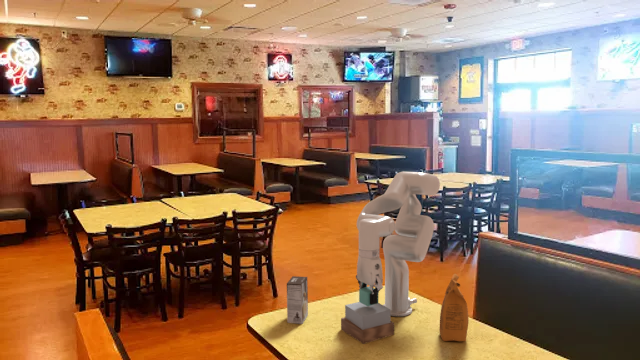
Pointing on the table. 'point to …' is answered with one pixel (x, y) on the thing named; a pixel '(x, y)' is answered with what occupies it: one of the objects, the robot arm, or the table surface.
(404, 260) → the robot arm
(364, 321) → the tower top
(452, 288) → the coffee package
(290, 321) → the coffee box
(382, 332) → the tower base
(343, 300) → the table surface
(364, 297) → the teal block
